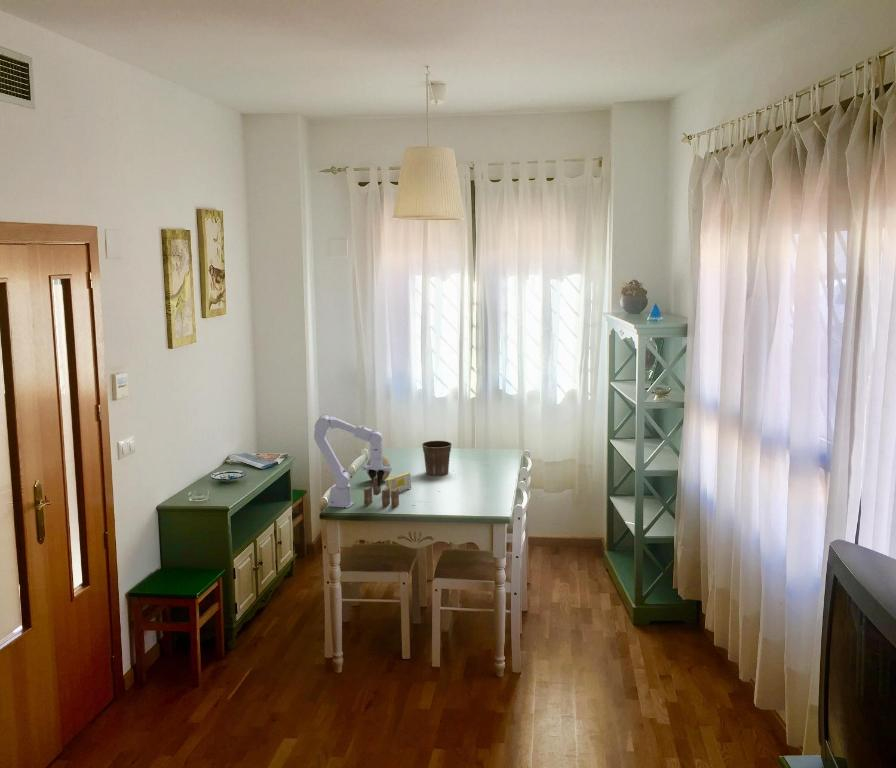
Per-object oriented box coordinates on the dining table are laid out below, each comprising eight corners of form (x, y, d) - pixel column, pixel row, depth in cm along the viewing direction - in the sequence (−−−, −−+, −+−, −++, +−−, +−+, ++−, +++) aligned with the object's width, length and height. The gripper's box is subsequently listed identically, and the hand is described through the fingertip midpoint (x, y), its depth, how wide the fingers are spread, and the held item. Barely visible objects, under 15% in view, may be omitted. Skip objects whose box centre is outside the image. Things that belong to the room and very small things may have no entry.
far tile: (391, 507, 403) (391, 491, 402) (395, 504, 408) (394, 488, 406) (395, 508, 402) (395, 491, 401) (399, 505, 407) (398, 488, 406)
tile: (373, 495, 405) (372, 478, 404) (377, 492, 410) (376, 475, 408) (377, 495, 404) (377, 478, 403) (380, 492, 409) (380, 476, 408)
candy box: (408, 488, 436) (407, 472, 435) (411, 488, 435) (411, 473, 434) (386, 495, 424) (385, 479, 423) (389, 496, 423) (388, 479, 421)
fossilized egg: (381, 485, 442) (380, 457, 439) (361, 482, 448) (360, 454, 446) (395, 479, 452) (395, 452, 450) (376, 476, 459) (375, 449, 457)
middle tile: (382, 507, 404) (381, 490, 403) (386, 504, 409) (385, 487, 408) (386, 507, 404) (385, 490, 402) (390, 504, 408) (389, 488, 407)
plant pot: (451, 476, 457) (451, 447, 455) (421, 477, 458) (420, 447, 455) (452, 469, 473) (452, 440, 471) (423, 469, 474) (422, 440, 471)
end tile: (364, 505, 407) (363, 489, 405) (368, 502, 411) (367, 486, 410) (368, 506, 406) (367, 489, 405) (372, 503, 411) (371, 486, 410)
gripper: (393, 456, 406) (394, 484, 408) (364, 454, 410) (365, 482, 412) (388, 459, 400) (389, 488, 402) (359, 458, 403) (360, 486, 405)
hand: (377, 485), depth 406 cm, fingers closed on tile, 2 cm apart
